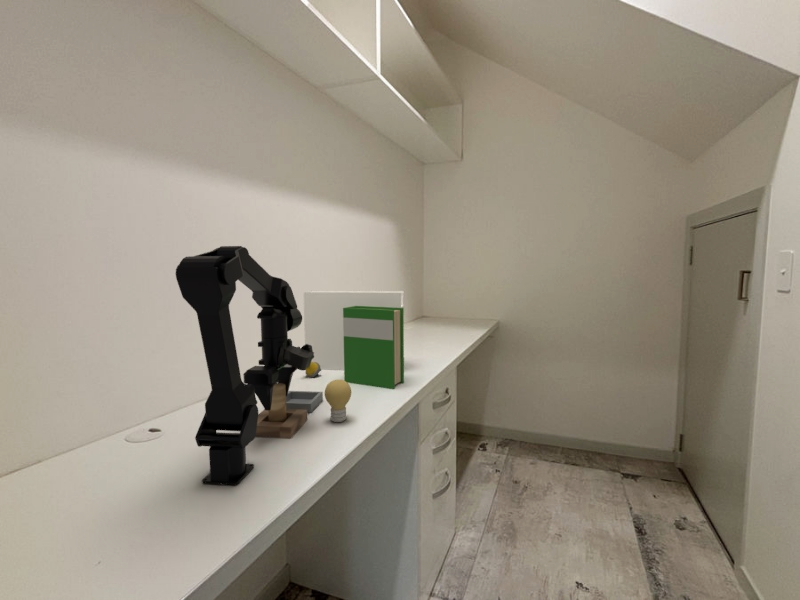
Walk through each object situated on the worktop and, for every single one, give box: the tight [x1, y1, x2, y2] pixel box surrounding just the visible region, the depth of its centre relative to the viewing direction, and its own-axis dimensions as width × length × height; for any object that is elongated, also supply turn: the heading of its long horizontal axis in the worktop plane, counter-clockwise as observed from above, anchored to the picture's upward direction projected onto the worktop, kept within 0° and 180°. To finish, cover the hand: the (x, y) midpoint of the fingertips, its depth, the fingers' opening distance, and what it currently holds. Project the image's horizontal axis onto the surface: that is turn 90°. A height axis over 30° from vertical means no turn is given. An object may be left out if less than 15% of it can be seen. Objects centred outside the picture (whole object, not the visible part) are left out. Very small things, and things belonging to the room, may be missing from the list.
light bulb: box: [324, 379, 352, 423], centre depth 96 cm, size 6×6×10 cm
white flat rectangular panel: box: [303, 290, 405, 372], centre depth 143 cm, size 35×8×28 cm, turn 81°
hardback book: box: [343, 306, 405, 390], centre depth 126 cm, size 18×7×24 cm, turn 64°
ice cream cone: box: [305, 362, 322, 378], centre depth 133 cm, size 5×5×10 cm
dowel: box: [268, 383, 287, 422], centre depth 92 cm, size 4×4×10 cm
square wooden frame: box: [255, 409, 308, 439], centre depth 92 cm, size 10×10×2 cm
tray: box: [286, 390, 324, 414], centre depth 106 cm, size 10×10×2 cm
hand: (276, 402), depth 91 cm, fingers open, 9 cm apart
